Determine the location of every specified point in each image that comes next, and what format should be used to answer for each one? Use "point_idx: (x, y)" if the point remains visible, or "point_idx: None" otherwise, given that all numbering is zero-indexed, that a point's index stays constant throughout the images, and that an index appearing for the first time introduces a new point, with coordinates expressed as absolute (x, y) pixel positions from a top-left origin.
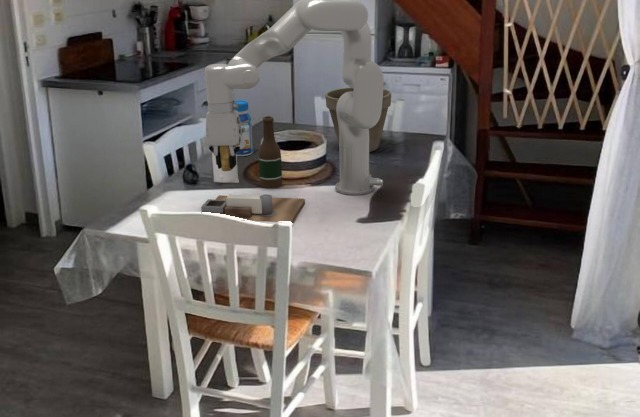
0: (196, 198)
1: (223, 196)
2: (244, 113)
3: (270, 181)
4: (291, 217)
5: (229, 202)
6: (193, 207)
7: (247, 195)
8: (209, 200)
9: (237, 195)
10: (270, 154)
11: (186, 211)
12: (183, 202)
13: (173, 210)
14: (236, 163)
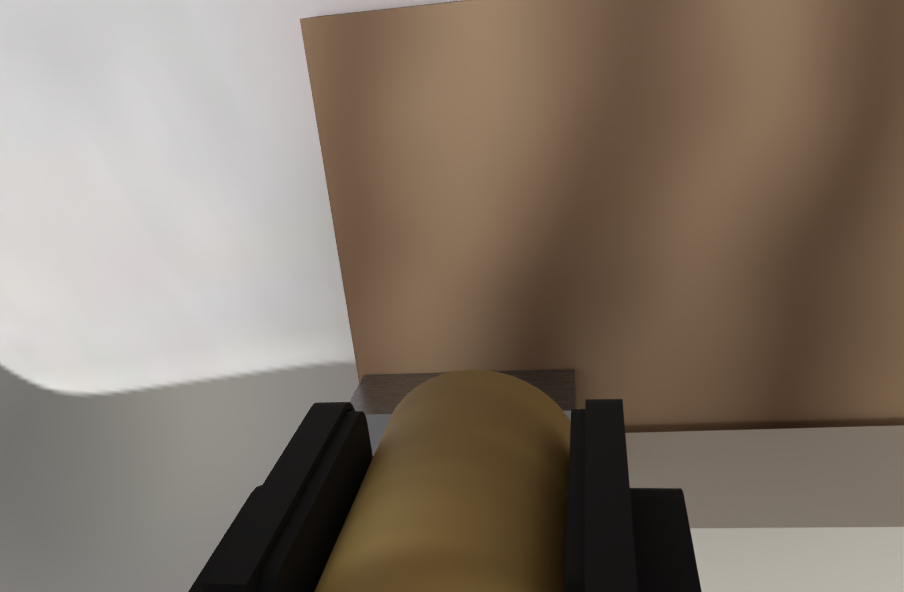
0: (69, 26)
1: (368, 48)
2: None
3: None
4: None
5: None
6: (185, 274)
7: (847, 535)
8: (371, 443)
9: (719, 546)
10: None
11: (182, 371)
12: (24, 166)
13: (69, 365)
14: (681, 489)
